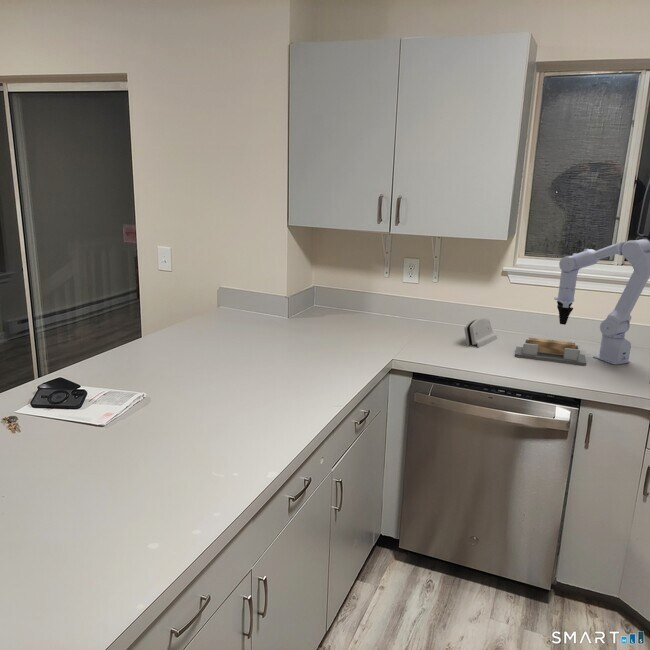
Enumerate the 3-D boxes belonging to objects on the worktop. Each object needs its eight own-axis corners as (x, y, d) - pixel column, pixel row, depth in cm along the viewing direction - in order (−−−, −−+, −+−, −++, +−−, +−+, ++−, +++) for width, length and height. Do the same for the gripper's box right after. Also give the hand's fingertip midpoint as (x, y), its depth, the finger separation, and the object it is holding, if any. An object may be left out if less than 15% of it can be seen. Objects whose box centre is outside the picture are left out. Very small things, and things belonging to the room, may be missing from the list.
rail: (573, 353, 213) (575, 342, 212) (573, 355, 210) (575, 345, 209) (527, 347, 218) (528, 337, 217) (527, 350, 215) (528, 339, 214)
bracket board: (584, 357, 215) (586, 344, 214) (586, 365, 206) (587, 352, 205) (516, 348, 223) (517, 336, 222) (514, 356, 214) (516, 344, 213)
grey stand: (478, 347, 223) (472, 322, 223) (467, 349, 227) (461, 324, 226) (497, 338, 236) (492, 314, 235) (486, 340, 239) (481, 316, 238)
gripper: (555, 283, 231) (551, 316, 235) (556, 290, 218) (551, 325, 222) (575, 284, 229) (570, 318, 233) (576, 291, 216) (571, 327, 220)
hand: (562, 321), depth 227 cm, fingers open, 7 cm apart
